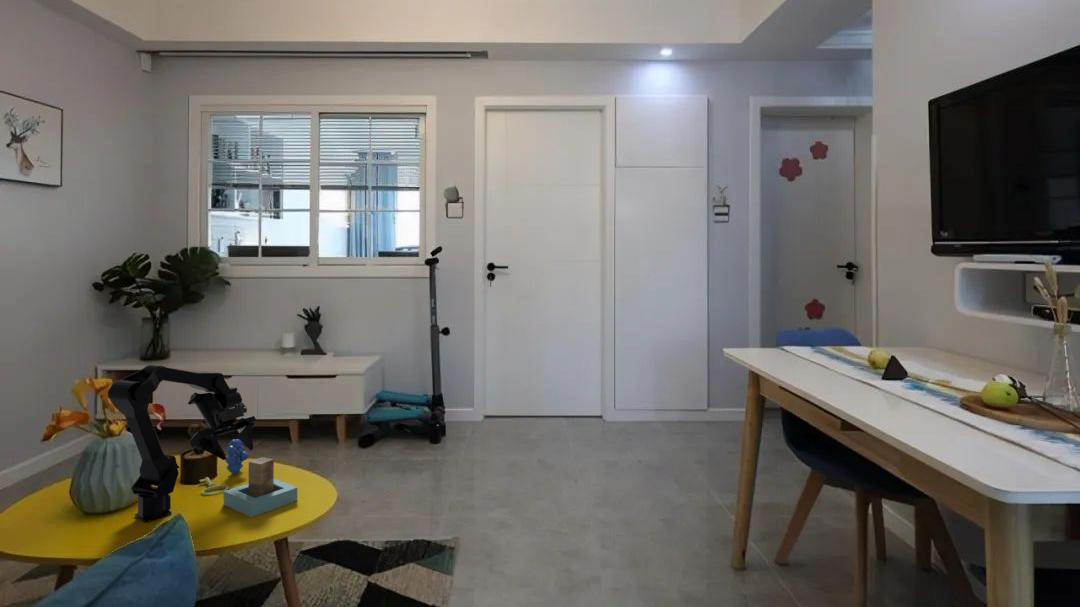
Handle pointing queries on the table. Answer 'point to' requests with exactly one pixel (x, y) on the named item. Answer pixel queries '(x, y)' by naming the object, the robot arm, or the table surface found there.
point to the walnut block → (261, 477)
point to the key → (212, 487)
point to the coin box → (260, 498)
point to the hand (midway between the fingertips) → (239, 454)
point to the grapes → (235, 456)
